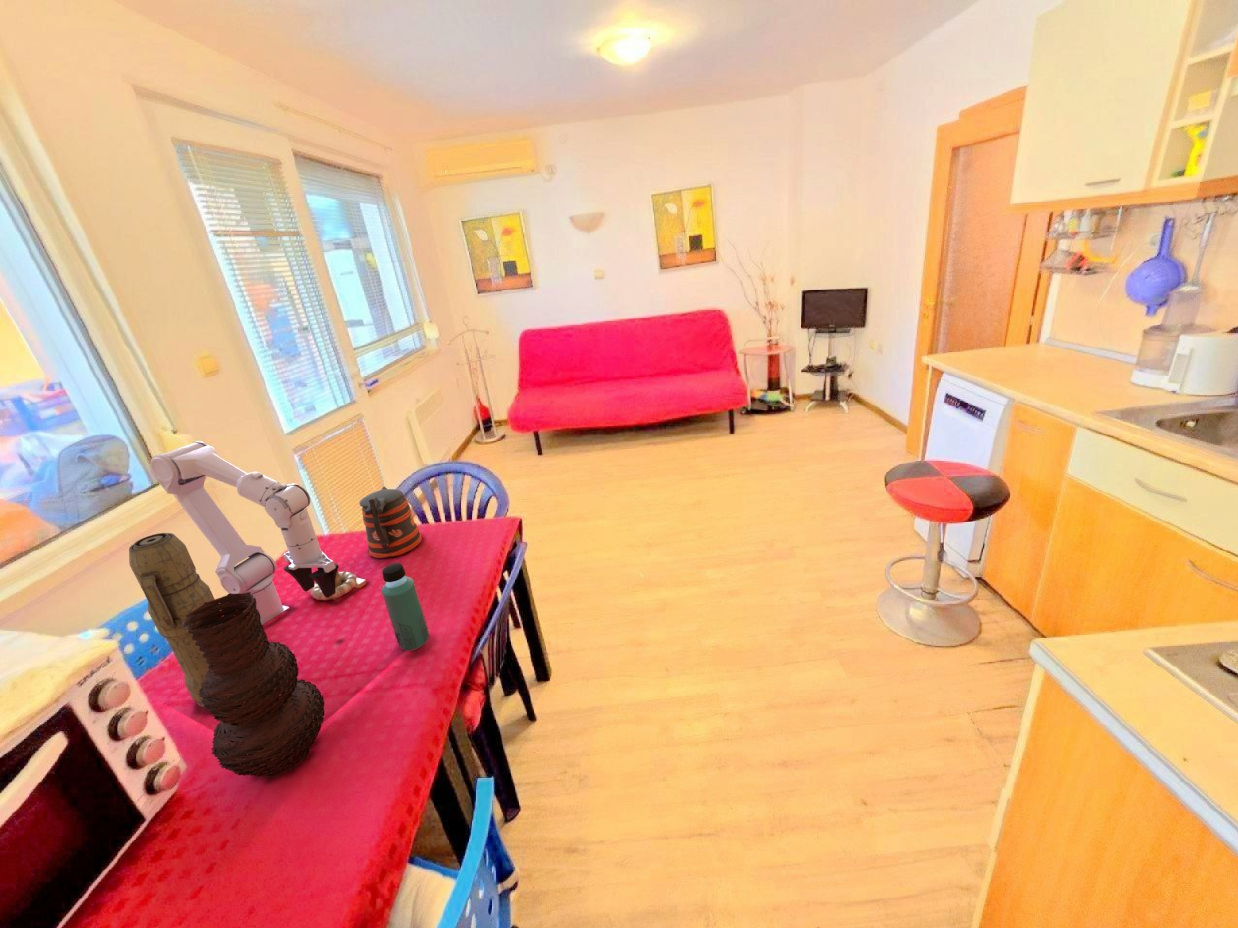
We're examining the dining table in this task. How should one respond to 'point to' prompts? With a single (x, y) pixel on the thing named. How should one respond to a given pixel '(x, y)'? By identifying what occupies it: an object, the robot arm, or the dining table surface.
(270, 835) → the dining table surface
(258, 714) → the vase
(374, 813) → the dining table surface
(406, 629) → the beverage bottle
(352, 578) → the ring
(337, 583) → the stand
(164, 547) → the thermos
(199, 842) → the dining table surface
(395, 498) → the beer stein
